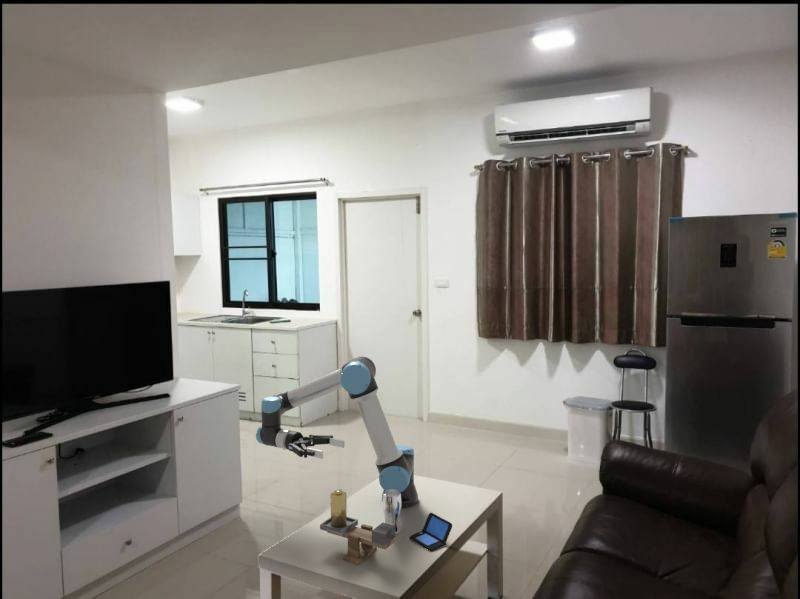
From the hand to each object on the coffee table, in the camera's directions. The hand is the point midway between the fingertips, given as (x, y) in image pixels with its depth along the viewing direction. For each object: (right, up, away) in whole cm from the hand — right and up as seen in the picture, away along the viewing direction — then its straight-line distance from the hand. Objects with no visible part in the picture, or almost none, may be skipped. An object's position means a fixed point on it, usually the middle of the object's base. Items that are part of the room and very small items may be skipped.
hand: (333, 449), depth 228 cm
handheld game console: (+36, -31, -9) cm, 49 cm away
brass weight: (+4, -23, -15) cm, 27 cm away
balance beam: (+11, -26, -19) cm, 34 cm away
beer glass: (+22, -31, -2) cm, 38 cm away
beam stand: (+11, -32, -19) cm, 39 cm away
